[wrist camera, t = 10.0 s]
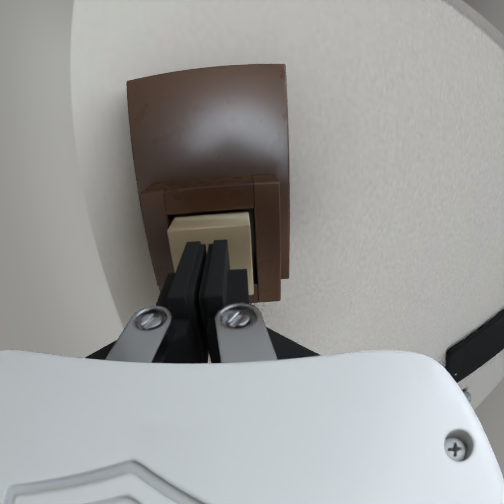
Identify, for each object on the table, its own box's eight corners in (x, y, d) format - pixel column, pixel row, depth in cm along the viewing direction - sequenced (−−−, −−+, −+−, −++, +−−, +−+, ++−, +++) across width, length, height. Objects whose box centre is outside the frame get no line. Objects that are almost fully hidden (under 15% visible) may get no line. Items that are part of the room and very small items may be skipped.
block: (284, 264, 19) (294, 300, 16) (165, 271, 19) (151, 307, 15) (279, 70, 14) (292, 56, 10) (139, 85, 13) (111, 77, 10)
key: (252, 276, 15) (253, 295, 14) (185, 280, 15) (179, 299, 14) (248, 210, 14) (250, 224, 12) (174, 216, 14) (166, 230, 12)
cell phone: (530, 318, 26) (533, 322, 25) (444, 384, 29) (446, 389, 28) (540, 275, 22) (544, 279, 21) (446, 349, 25) (450, 355, 24)
